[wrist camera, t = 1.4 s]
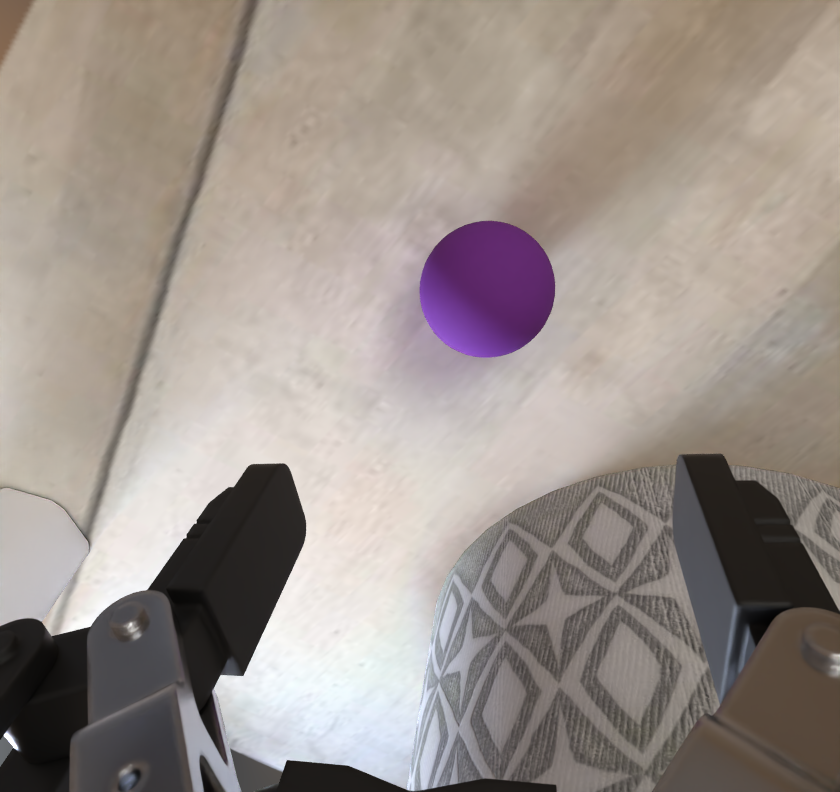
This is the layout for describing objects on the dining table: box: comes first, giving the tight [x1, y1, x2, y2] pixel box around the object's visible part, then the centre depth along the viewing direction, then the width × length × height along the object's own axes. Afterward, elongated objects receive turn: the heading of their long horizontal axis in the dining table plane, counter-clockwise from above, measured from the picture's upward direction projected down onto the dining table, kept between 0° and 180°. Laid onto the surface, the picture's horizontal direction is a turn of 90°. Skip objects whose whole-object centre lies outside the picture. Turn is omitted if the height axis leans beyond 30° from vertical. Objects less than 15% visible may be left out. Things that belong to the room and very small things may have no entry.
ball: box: [420, 221, 555, 357], centre depth 23 cm, size 5×5×5 cm
